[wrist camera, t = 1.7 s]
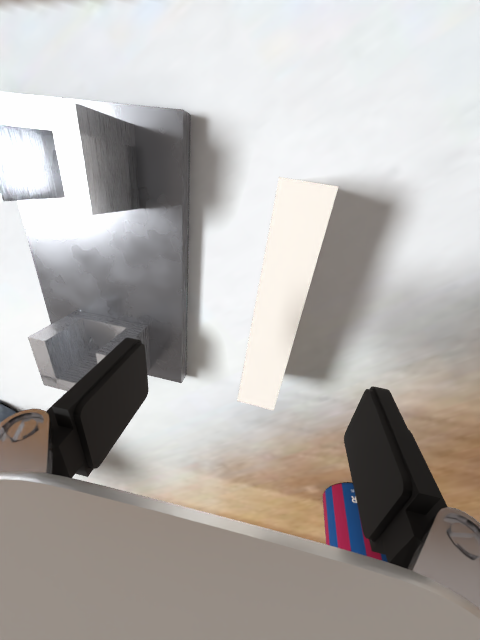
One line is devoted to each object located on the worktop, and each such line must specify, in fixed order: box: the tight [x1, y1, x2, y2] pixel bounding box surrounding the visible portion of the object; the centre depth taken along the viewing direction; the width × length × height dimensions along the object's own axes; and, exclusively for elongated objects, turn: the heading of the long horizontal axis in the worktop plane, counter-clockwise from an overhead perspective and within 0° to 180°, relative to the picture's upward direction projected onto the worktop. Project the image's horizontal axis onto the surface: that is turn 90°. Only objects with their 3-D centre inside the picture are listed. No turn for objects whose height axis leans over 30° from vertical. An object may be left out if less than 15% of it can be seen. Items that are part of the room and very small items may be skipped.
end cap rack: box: [0, 92, 190, 391], centre depth 20 cm, size 14×22×6 cm, turn 173°
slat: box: [237, 177, 338, 411], centre depth 19 cm, size 3×16×5 cm, turn 172°
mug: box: [323, 483, 388, 562], centre depth 29 cm, size 7×10×7 cm
